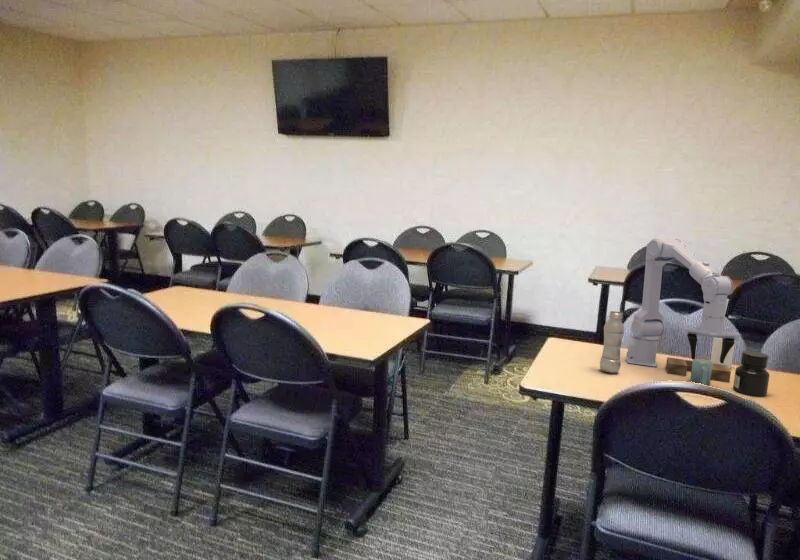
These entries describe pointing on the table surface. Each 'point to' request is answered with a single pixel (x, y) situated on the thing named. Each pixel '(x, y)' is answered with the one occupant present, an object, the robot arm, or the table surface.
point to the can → (717, 352)
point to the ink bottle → (752, 374)
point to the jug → (701, 371)
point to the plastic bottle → (612, 343)
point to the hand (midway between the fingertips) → (707, 360)
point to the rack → (683, 366)
